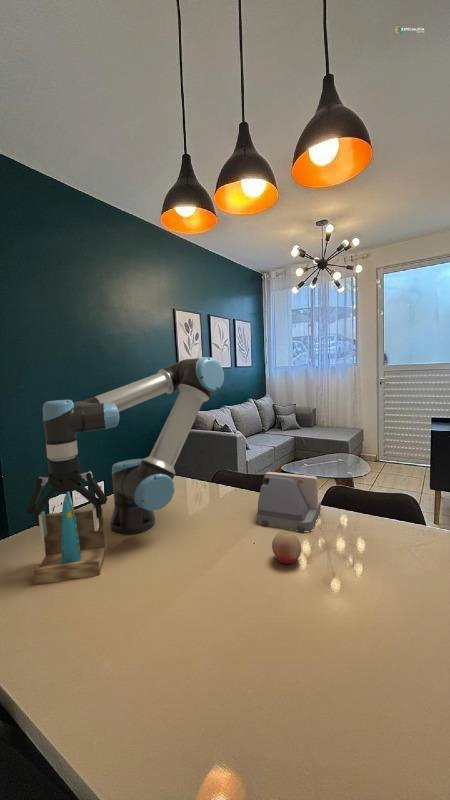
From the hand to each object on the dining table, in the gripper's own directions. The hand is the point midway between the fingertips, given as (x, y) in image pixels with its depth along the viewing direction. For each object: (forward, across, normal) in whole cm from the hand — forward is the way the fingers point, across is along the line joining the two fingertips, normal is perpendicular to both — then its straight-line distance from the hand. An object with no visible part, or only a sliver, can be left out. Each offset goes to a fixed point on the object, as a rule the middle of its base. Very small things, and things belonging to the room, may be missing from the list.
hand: (70, 532), depth 94 cm
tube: (+8, 0, 0) cm, 8 cm away
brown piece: (+10, 0, 0) cm, 10 cm away
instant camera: (+12, -68, -12) cm, 71 cm away
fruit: (+11, -58, +13) cm, 60 cm away
